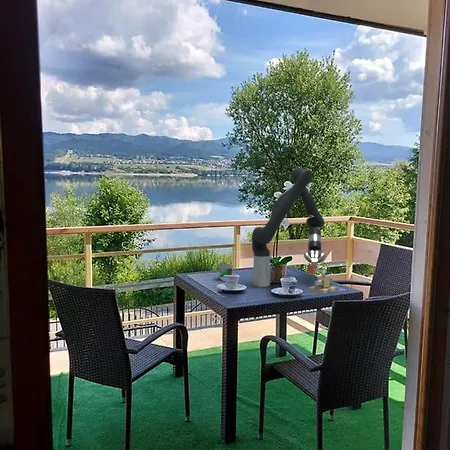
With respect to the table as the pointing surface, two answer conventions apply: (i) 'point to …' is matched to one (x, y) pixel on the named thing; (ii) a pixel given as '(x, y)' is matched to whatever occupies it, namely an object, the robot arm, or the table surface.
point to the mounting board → (324, 289)
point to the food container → (225, 269)
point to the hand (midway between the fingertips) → (314, 268)
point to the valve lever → (313, 270)
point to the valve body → (323, 282)
